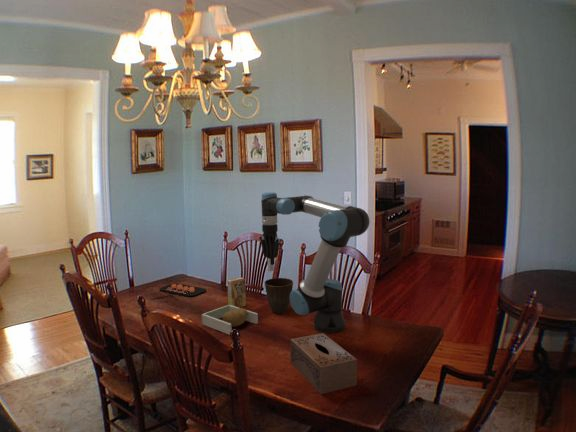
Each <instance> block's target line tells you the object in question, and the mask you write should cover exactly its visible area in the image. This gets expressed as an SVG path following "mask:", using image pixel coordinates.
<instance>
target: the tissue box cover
mask: <svg viewBox="0 0 576 432" xmlns="http://www.w3.org/2000/svg"><path fill="white" fill-rule="evenodd" d="M290 363H291V365H292V366H294V367H295V369H296V370H297V371H298V372H299V373H300V374H301V375H302V376H303V378H305V380H306V381H307V382H308V383H309V384H310V385H311V386H312V387H313V388H314V389H315V390H316V392H318V394H319V395H324V394H328V393H332V392H336V391H340V390H344V389H348V388H352V387H355V386H358V359H357V358H356V357H355V356H354V355H352V354H351V353H349V352H348V351H347V350H345V349H344V348H343V347H342V346H341V345H339V344H338V343H337V342H335V341H334V340H333V339H332V338H331V337H329V336H328V335H326V333H323V332H319V333H315V334H311V335H306V336H300V337H295V338H291V339H290Z"/></svg>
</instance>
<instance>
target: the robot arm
mask: <svg viewBox="0 0 576 432" xmlns="http://www.w3.org/2000/svg"><path fill="white" fill-rule="evenodd" d="M293 213H305V214H309V215H311V216H315V217H319V218H320V219H319V222H318V228H319V229H318V231H319V235H320V240H321V242H320V243H319V246H318V249H317V250H316V253H315V255H314V259H313V260H312V263H311V265H310V268H309V270H308V273H307V275H306V277H305V278H304V279H302V280H301V281H300V283H299V285H298V287H297V289H292V292H291V293H290V302H289V304H290V306H291V308H292V309H293V312H295V313H296V314H297V315H299V316H304V315H309V314H311V313H315V312H316V313H315V317H314V320H313V328H314V330H315V331H317V332H319V333H324V334H335V333H336V334H337V333H340V332H343V331H344V330H345V329H346V320H345V318H344V315H343V310H342V309H343V308H342V307H343V306H342V305H343V299H342V298H343V288H342V286H343V285H342V282H341V281H339V280H338V279H333V278H328V277H329V276H330V274H331V271H332V269H333V267H334V264H335V263H336V260H337V258H338V255H339V253H340V251H341V249H344V248H346V247H347V245H348V243H349V240H350V238H352V237H357V236H360V235H363V234H364V233H365V232H367V230H368V229H369V227H370V222H371V221H370V216H369V214H368V213H367V212H366V211H365V210H364V209H362V208H360V207H356V206H353V205H352V206H351V205H349V206H342V205H340V204H335V203H331V202H327V201H323V200H320V199H316V198H314V197H313V196H312V195H305V194H304V195H299V196H298V195H297V196H288V197H278V194H277V193H276V192H274V191H273V192H271V191H269V192H263V193H262V194H261V223H262V226H261V231H262V235H261V236H259V240H260V245H261V249H262V254H263V257H266V263H267V272H273V271H275V268H274V267H275V266H274V265H275V258H277V257H278V256H279V250H280V244H281V242H282V239H281V238H279V237H278V234H277V233H278V231H279V230H278V229H279V228H278V214H280V215H287V216H288V215H291V214H293Z"/></svg>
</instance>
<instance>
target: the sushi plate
mask: <svg viewBox="0 0 576 432" xmlns="http://www.w3.org/2000/svg"><path fill="white" fill-rule="evenodd" d="M176 286H177V290H178V291H182V286H183V291H184V293H186V294H183V293H178V292H174V291H169V290H166V289H167V288H168V287H171V288H172V290H176ZM188 288H189V289H188ZM159 290H160V291H163V292H166V293H167V294H168V295H165V296H158V297H153V298H151V300H157V298H158V299H161V298H162V299H163V298H167V297H172V298H173V299H174V298H175V299H174V300H176V301H177V300H179V299H178V298H176V297H175V296H176V295H182V296H187V297H194V296H198V295H200V294H202V293H205V292H206V291H207V288H205V287H204V288H203V287H198V286H193V285H188V284H184V283H177V282H174V283H170V284H166V285H164V286H162V287H161V286H160V287H159ZM188 290H189V291H188ZM187 292H188V293H187ZM171 293H172V294H171Z"/></svg>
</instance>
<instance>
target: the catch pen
mask: <svg viewBox="0 0 576 432" xmlns="http://www.w3.org/2000/svg"><path fill="white" fill-rule="evenodd" d="M238 308H239V307H235V306H232V305H228V304H227V305H224V306H222V307H219V308H215V309H212V310H210V311H207V312H204V313H201V317H200V318H201V322H200V323H201V325H203V326H205V327H208V328H210V329H213V330H216V331H219V332H222V333H223V334H226V335H229V336H230V332H231V330H232V331H233V327H232V326H231V324H230V323H227V322H225V321H223V315H224V314H225V313H227V312H229V311H231V310H234V309H238ZM246 310H247V309H246ZM247 313H248V314H247V318H246V320H245V321H247V322H249V323H253V324H255V325H257V324H259V316H258V315H259V314H258V313H257V312H254V311H251V310H247Z"/></svg>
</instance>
